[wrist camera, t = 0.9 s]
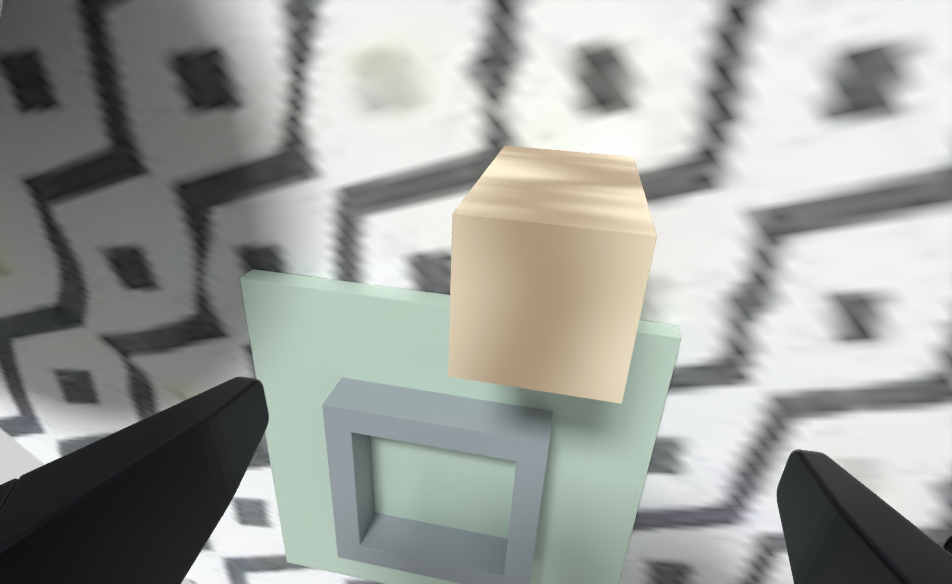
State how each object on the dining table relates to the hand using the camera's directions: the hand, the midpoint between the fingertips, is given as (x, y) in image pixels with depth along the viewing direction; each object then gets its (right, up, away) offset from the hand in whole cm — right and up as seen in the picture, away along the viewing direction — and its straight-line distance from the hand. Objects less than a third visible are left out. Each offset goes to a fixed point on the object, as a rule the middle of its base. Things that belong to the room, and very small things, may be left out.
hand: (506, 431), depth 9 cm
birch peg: (+3, +5, +11) cm, 12 cm away
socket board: (-2, -6, +17) cm, 18 cm away
